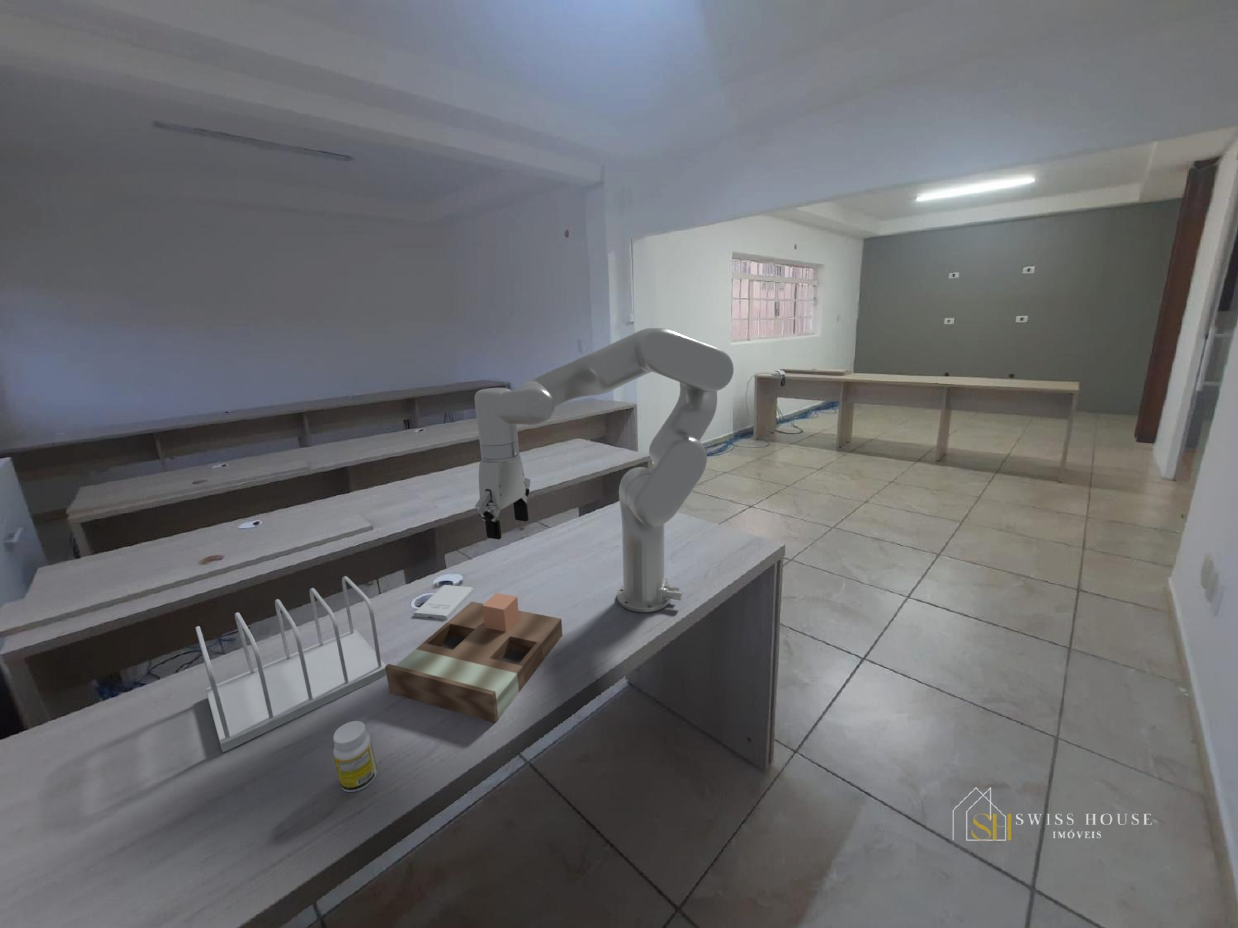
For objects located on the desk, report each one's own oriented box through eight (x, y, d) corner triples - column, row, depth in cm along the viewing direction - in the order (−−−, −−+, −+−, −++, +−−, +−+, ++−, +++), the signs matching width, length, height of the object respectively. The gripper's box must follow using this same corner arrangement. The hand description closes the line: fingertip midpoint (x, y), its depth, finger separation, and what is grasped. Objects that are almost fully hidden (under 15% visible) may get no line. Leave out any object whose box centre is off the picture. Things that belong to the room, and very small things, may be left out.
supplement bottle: (349, 765, 74) (339, 719, 71) (382, 762, 74) (373, 716, 72) (334, 795, 69) (323, 746, 67) (369, 791, 69) (359, 743, 67)
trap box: (562, 635, 103) (560, 612, 102) (495, 722, 81) (492, 694, 79) (473, 617, 111) (470, 595, 109) (389, 692, 88) (385, 666, 87)
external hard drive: (474, 593, 122) (447, 621, 110) (443, 590, 124) (414, 618, 112) (473, 587, 121) (446, 615, 110) (443, 584, 123) (413, 611, 111)
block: (519, 618, 103) (517, 596, 102) (506, 631, 98) (503, 609, 97) (498, 614, 105) (496, 592, 103) (484, 627, 100) (482, 605, 99)
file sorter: (223, 754, 76) (197, 668, 72) (207, 698, 88) (184, 621, 84) (389, 674, 93) (376, 601, 89) (357, 636, 105) (344, 569, 101)
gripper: (509, 439, 109) (517, 512, 113) (455, 460, 93) (467, 543, 98) (539, 441, 106) (545, 516, 110) (488, 463, 91) (498, 548, 95)
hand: (508, 528), depth 104 cm, fingers open, 9 cm apart
